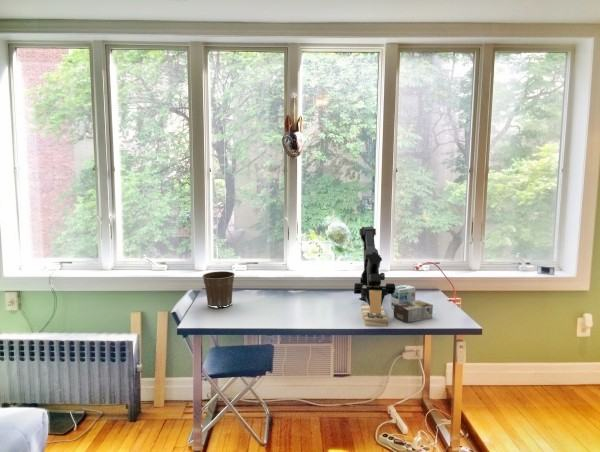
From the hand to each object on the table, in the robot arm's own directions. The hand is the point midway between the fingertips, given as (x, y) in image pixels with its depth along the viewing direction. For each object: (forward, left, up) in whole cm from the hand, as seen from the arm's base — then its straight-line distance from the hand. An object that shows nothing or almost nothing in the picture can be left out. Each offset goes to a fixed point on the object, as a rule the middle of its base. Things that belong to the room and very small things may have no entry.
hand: (375, 305), depth 193 cm
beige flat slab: (-5, +4, -8) cm, 10 cm away
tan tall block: (-1, +1, -7) cm, 7 cm away
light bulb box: (-5, +26, -8) cm, 28 cm away
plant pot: (-68, -43, -8) cm, 81 cm away
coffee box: (+9, +26, -5) cm, 28 cm away
